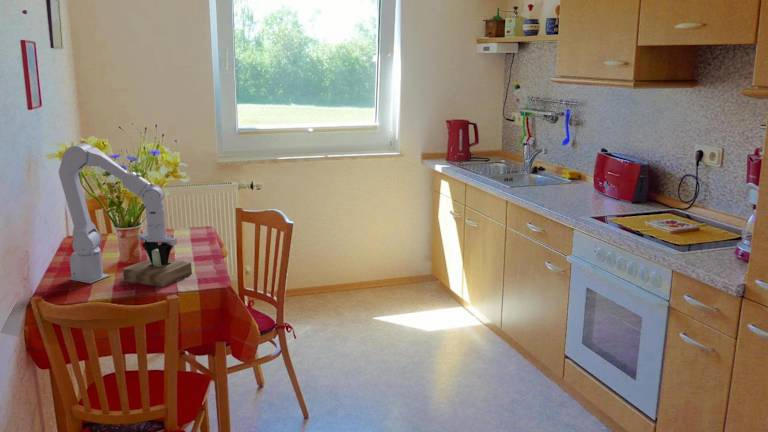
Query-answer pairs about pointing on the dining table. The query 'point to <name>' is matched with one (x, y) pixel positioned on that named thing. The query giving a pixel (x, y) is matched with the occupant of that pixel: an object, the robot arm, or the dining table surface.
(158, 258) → the pale green block
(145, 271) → the socket board
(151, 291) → the dining table surface
